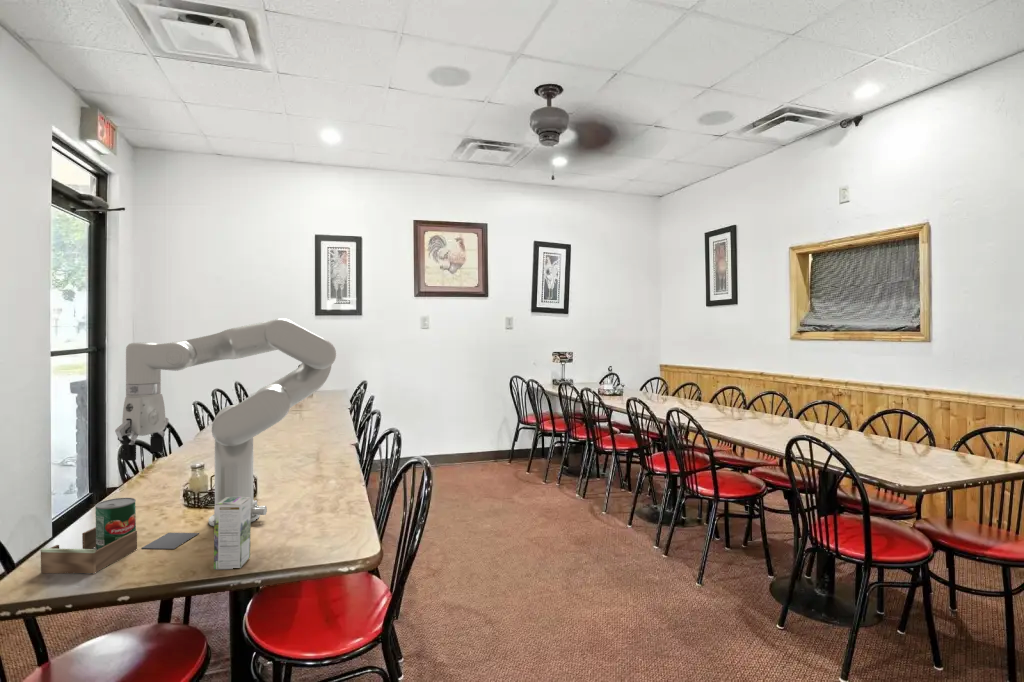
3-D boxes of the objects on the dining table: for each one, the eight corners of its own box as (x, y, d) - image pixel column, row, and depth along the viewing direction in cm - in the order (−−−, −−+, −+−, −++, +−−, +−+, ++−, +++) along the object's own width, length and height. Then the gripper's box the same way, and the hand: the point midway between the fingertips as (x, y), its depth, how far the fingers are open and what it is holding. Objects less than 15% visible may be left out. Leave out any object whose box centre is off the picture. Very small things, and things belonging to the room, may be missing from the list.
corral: (167, 532, 142) (167, 513, 142) (93, 573, 118) (93, 550, 118) (123, 531, 142) (123, 512, 142) (40, 572, 118) (40, 549, 118)
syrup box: (224, 559, 126) (224, 496, 125) (251, 558, 126) (251, 495, 126) (213, 570, 120) (212, 504, 120) (241, 569, 120) (240, 503, 120)
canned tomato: (112, 541, 136) (112, 497, 136) (143, 541, 136) (143, 497, 136) (87, 554, 128) (86, 507, 128) (120, 554, 128) (119, 507, 128)
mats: (199, 533, 141) (199, 533, 141) (149, 564, 123) (149, 563, 123) (110, 532, 142) (110, 531, 142) (47, 562, 123) (47, 561, 123)
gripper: (132, 394, 133) (132, 464, 134) (179, 387, 151) (179, 449, 151) (102, 393, 134) (102, 463, 134) (153, 386, 151) (153, 448, 151)
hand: (143, 455), depth 142 cm, fingers open, 9 cm apart
